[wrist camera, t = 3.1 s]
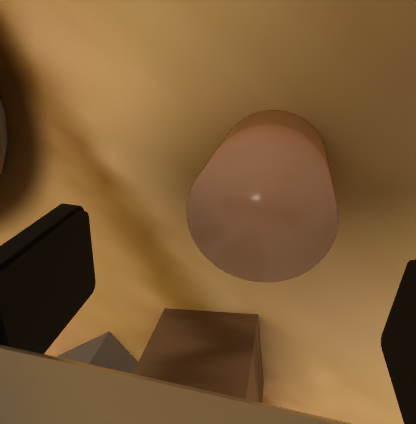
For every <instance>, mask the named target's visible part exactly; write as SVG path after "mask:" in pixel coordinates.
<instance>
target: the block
mask: <svg viewBox="0 0 416 424" xmlns="http://www.w3.org/2000/svg"><path fill="white" fill-rule="evenodd" d="M58 357H59V358H63V359H68V360H72V361H77V362H81V363H86V364H91V365H95V366H100V367H104V368H109V369H113V370H118V371H122V372H127V373H131V374H133V373H134V371H135V369H136V367H137V364H138V361H137V360H136V359H135V358H134V357H133V356H132V355H131V354H130V353H129V352H128V351H127V350H126V349H125V348H124V346H123V345H122V344H121V343H120V342H119V341H118V340H117V339H116V338H115V337H114V336H113V335H112V334H111V333H110V332H108V333H105V334H103V335H101V336H99V337H97V338H95V339H93V340H91V341H89V342H86V343H84V344H82V345H80V346H78V347H76V348H74V349H72V350H70V351H68V352H65V353H63V354H61V355H59V356H58Z"/></svg>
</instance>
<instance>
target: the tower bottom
mask: <svg viewBox="0 0 416 424" xmlns="http://www.w3.org/2000/svg"><path fill="white" fill-rule="evenodd" d="M133 374H136V375H140V376H145V377H149V378H154V379H158V380H163V381H167V382H172V383H176V384H181V385H185V386H189V387H194V388H198V389H203V390H207V391H211V392H216V393H220V394H225V395H229V396H234V397H238V398H242V399H247V400H251V401H256V402H260V403H262V393H263V371H262V358H261V345H260V331H259V318H258V315H256V314H241V313H226V312H211V311H195V310H180V309H164V311H163V313H162V316H161V318H160V320H159V322H158V324H157V326H156V328H155V330H154V332H153V334H152V336H151V338H150V340H149V342H148V344H147V346H146V348H145V350H144V352H143V354H142V356H141V358H140V360H139V362H138V364H137V367H136V369H135V371H134V373H133Z"/></svg>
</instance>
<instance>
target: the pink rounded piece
mask: <svg viewBox="0 0 416 424" xmlns="http://www.w3.org/2000/svg"><path fill="white" fill-rule="evenodd" d="M187 221H188V227H189V230H190V233H191V236H192V238H193V240H194V242H195V243H196V245H197V247H198V248H199V250H200V251H201V252H202V253H203V254H204V256H205V257H206V258H207V259H208V260H209V261H210V262H212V263H213V264H214V265H216V266H217V267H218V268H220V269H221V270H223V271H225V272H227V273H229V274H231V275H233V276H236V277H238V278H241V279H245V280H249V281H256V282H277V281H283V280H288V279H291V278H294V277H297V276H299V275H301V274H303V273H305V272H307V271H308V270H310V269H311V268H313V267H314V266H315V265H316V264H318V263H319V262H320V261H321V260H322V259H323V258H324V256H325V255H326V254H327V252H328V251H329V249H330V248H331V246H332V244H333V242H334V239H335V236H336V233H337V227H338V210H337V204H336V199H335V194H334V190H333V185H332V180H331V176H330V171H329V166H328V161H327V157H326V152H325V148H324V145H323V142H322V140H321V138H320V136H319V134H318V133H317V131H316V130H315V129H314V128H313V127H312V125H310V124H309V123H308V122H307V121H306V120H304V119H302V118H301V117H299V116H297V115H295V114H292V113H289V112H286V111H279V110H268V111H262V112H258V113H255V114H252V115H250V116H248V117H246V118H244V119H243V120H241V121H240V122H239V123H238V124H236V125H235V126H234V127H233V129H232V130H231V131H230V132H229V134H228V135H227V136H226V138H225V139H224V141H223V142H222V144H221V145H220V146H219V148H218V149H217V151H216V152H215V153H214V155H213V156H212V158H211V159H210V160H209V162H208V163H207V165H206V166H205V168H204V169H203V170H202V172H201V173H200V175H199V176H198V177H197V179H196V181H195V182H194V184H193V186H192V188H191V191H190V193H189V197H188V201H187Z"/></svg>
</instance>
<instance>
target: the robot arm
mask: <svg viewBox="0 0 416 424" xmlns="http://www.w3.org/2000/svg"><path fill="white" fill-rule="evenodd" d="M94 288H95V273H94V263H93V253H92V244H91V234H90V224H89V216H88V213H87V212H86V211H84V209H83V208H82V207H81V206H77V205H70V204H61V205H59V206H58V207H56V208H55V209H53V210H52V211H50V212H49V213H48V214H46V215H45V216H43V217H42V218H40V219H39V220H37V221H36V222H35V223H33V224H32V225H30V226H29V227H27V228H26V229H24V230H23V231H21V232H20V233H19V234H17V235H16V236H14V237H13V238H11V239H10V240H8V241H7V242H6V243H4V244H3V245H1V246H0V424H351V423H346V422H342V421H338V420H333V419H329V418H325V417H321V416H316V415H312V414H308V413H303V412H299V411H295V410H290V409H286V408H282V407H277V406H273V405H269V404H264V403H260V402H256V401H251V400H247V399H242V398H238V397H234V396H229V395H225V394H220V393H216V392H211V391H207V390H203V389H198V388H194V387H189V386H185V385H181V384H176V383H172V382H167V381H163V380H158V379H154V378H149V377H145V376H140V375H136V374H131V373H127V372H122V371H118V370H113V369H109V368H104V367H100V366H95V365H91V364H86V363H81V362H77V361H72V360H68V359H63V358H59V357H54V356H49V355H45V354H44V353H45V352H46V350H47V349H48V348H49V347H50V345H51V344H52V343H53V342H54V340H55V339H56V338H57V337H58V335H59V334H60V333H61V332H62V330H63V329H64V328H65V327H66V325H67V324H68V323H69V322H70V320H71V319H72V318H73V317H74V315H75V314H76V313H77V312H78V310H79V309H80V308H81V307H82V305H83V304H84V303H85V302H86V300H87V299H88V298H89V297H90V295H91V294H92V293H93V291H94ZM381 347H382V351H383V354H384V358H385V361H386V364H387V368H388V371H389V374H390V378H391V381H392V384H393V388H394V391H395V394H396V398H397V401H398V404H399V408H400V411H401V414H402V418H403V421H404V424H416V260H410V261H409V262H408V264H407V266H406V269H405V272H404V274H403V277H402V280H401V283H400V286H399V288H398V291H397V294H396V297H395V300H394V302H393V305H392V308H391V311H390V314H389V316H388V319H387V322H386V325H385V328H384V330H383V333H382V337H381Z"/></svg>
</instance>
